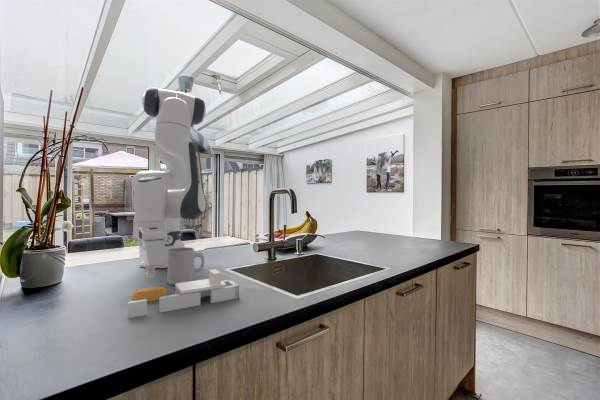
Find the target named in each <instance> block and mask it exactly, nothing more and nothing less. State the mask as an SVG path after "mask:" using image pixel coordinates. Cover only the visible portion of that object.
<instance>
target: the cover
mask: <svg viewBox="0 0 600 400" xmlns="http://www.w3.org/2000/svg"><path fill="white" fill-rule="evenodd" d="M223 281H224V280H222V272H221V271H219V270H217V269H216V268H214V269H209V270H208V278H204V279H197V280H194V281H189V282H182V283H175V285H174V286H175V288H177V289H178V291H179V292H180V293H181V294H185V293H191V292H198V291H204V290H210V289H217V288H223V287H226V284H225V283H224V282H223Z"/></svg>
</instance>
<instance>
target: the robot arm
mask: <svg viewBox="0 0 600 400" xmlns="http://www.w3.org/2000/svg"><path fill="white" fill-rule="evenodd" d="M141 103H142V108H143V111H144V112H145V114H146V115H148V116H149V117H152V118H156V122H155V130H154V131H155V132H154V139H155V145H154V155H155V157H156V159H158V160H159V161H160V162H162V163H163V164H165V167H166V169H165V171H162V170H143V171H137V172H136V173H135V174H134V176H133V177H132V180H131V188H132V190H133V198H132V199H133V201H132V202H133V203H132V207H133V210H134V217H133V220H132V222H133V225H132V226H133V227H132V228H133V234H132V237H133V238H135V239H137V240H138V241H137V243H138V245H139V246H138V249H139V250H138V252H139V257H140V259H141V260H142V261H141V263H140V264H139V265H140V266H139V267H140V268H145V271H146V272H145V273H146V275H145V276H146V277H147V278H148V279H153V278H155V271H156V269H165V268H168V250H169V249H172V248H181V247H185V245H186V244H185V243H184V242H183V241H182V240H181V239H182V233H181V232H182V231H181V230H180V229H181V227H180V226H181V224H180V223H181V221H180V220H181V219H183V220H184V219H185V220H192V221H194V220H197V219H199V218H200V217H201V216H202V215H203V214H204V213H205V211H206V208H207V202H206V196H205V191H204V184H203V175H202V163H201V157H200V155H201V154H200V151H199V148H198V146H197V144H196V143H195V142H193V140H192V138H191V128H192V127H193V126H195V125H196V126H197V125H199V124H201V123H202V122H203V121H204V119H205V117H206V114H207V113H206V112H207V108H206V103H205V101H204V99H203V98H201V97H198V96H196V95H195V96H193V95H191V94H187V93H185V92H182V91H178V90H177V91H174V90H170V89H163V88H162V89H161V88H159V87H149V88H147V89H146V90H145V91H144V94H142V99H141Z"/></svg>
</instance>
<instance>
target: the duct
mask: <svg viewBox="0 0 600 400" xmlns="http://www.w3.org/2000/svg"><path fill="white" fill-rule="evenodd" d="M222 281H223V282H224V283H225V284H226V287H223V288H217V289H210V290H204V291H198V292H191V293H185V294H181V293H180V292H179V291H178V289H177V288H176V287H175V288H174V289H175V292H174V293H175V294H170V295H166V296H163V297H159V300H158V302H159V303H158V304H159V305H158V306H159V308H158V309H159V313H165V312H170V311H176V310H182V309H187V308H192V307H197V306H199V307H200V306H201V298H206V297H210V298H209V299H210V301H209V302H210V304H215V303H219V302H220V303H221V302H224V301H231V300H235V299H240V285H239V284H238V283H236V282H235V281H233V279H226V280H225V279H224V280H222ZM147 309H148V302H147V300H146V299H144V300H137V301H133V300H132V301H128V302H127V319H133V318H139V317H144V316H147V314H148V310H147Z"/></svg>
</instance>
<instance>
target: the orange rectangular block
mask: <svg viewBox="0 0 600 400" xmlns="http://www.w3.org/2000/svg"><path fill="white" fill-rule="evenodd" d="M167 294H168V290H167V289H166V288H165V287H163V286H161V285H157V286H150V287H144V288H138V289H137V290H135V291H134V292H133V293H131V300H132V301H137V300H144V299H146V300H147V303H148V302H153V301H159V297H163V296H167Z"/></svg>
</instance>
